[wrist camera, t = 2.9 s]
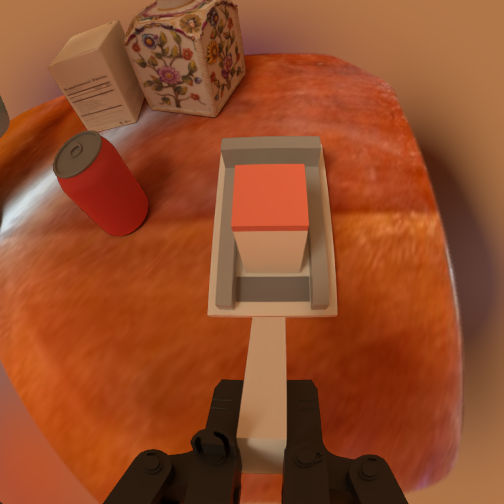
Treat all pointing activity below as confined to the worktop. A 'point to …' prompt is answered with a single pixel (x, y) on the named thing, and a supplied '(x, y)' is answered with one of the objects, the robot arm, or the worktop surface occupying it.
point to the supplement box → (99, 78)
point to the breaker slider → (270, 216)
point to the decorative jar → (187, 54)
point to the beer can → (100, 183)
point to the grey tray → (316, 248)
